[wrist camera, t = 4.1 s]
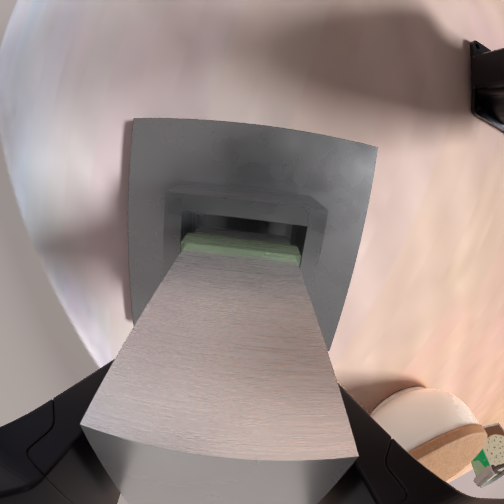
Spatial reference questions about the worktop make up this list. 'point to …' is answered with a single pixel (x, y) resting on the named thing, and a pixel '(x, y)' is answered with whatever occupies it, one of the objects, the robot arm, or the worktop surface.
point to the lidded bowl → (432, 428)
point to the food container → (490, 457)
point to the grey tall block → (224, 384)
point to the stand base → (248, 199)
